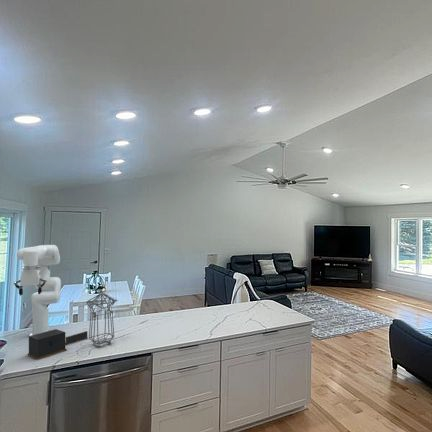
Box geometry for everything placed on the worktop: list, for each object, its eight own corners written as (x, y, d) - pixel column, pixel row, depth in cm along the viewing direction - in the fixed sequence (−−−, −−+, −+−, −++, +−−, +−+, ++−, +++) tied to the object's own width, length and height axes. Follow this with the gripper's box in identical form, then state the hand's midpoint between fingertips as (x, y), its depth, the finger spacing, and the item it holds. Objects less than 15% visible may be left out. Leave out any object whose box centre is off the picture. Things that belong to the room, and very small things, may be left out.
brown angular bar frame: (87, 338, 237) (87, 331, 237) (66, 345, 225) (66, 337, 225) (77, 335, 243) (77, 328, 243) (56, 341, 231) (56, 333, 231)
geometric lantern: (93, 350, 215) (93, 297, 215) (84, 344, 225) (85, 293, 226) (118, 343, 227) (118, 292, 227) (109, 338, 237) (109, 289, 238)
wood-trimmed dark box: (27, 355, 208) (27, 336, 208) (56, 346, 222) (56, 328, 222) (38, 360, 201) (38, 340, 201) (67, 350, 215) (67, 332, 215)
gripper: (48, 266, 223) (47, 292, 223) (16, 268, 216) (15, 294, 216) (45, 268, 216) (45, 294, 216) (12, 269, 209) (11, 296, 209)
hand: (30, 294), depth 216 cm, fingers open, 9 cm apart
